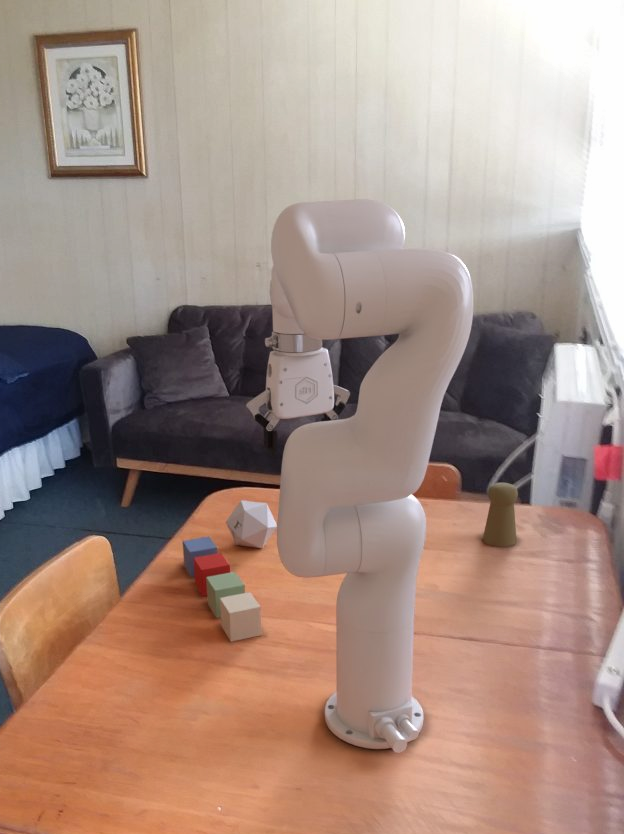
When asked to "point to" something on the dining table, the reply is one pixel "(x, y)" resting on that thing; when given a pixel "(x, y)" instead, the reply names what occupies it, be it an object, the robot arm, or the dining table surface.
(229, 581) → the sage block
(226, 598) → the cream block
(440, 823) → the dining table surface
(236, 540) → the die
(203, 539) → the blue block
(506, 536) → the cork
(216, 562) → the red block
